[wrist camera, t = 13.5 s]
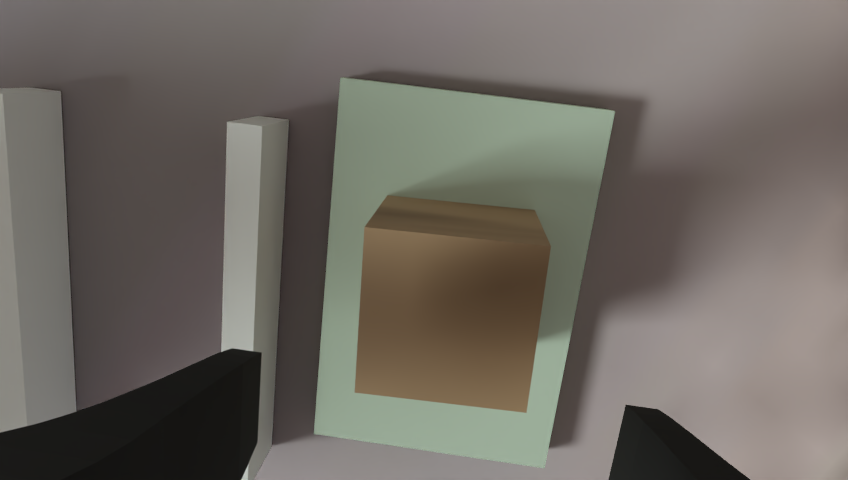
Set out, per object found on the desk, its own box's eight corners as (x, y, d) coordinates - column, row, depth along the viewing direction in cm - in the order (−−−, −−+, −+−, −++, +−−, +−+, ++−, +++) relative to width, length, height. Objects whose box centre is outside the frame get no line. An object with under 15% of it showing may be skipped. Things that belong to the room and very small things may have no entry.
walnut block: (516, 345, 19) (526, 413, 16) (378, 330, 20) (354, 392, 16) (534, 209, 18) (551, 246, 14) (387, 195, 18) (364, 227, 15)
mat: (541, 450, 21) (544, 468, 21) (320, 418, 22) (313, 433, 21) (607, 108, 18) (615, 111, 17) (347, 77, 19) (340, 77, 18)
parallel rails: (271, 446, 22) (247, 491, 20) (51, 413, 23) (1, 453, 20) (288, 119, 19) (262, 126, 17) (31, 87, 19) (-32, 89, 17)
